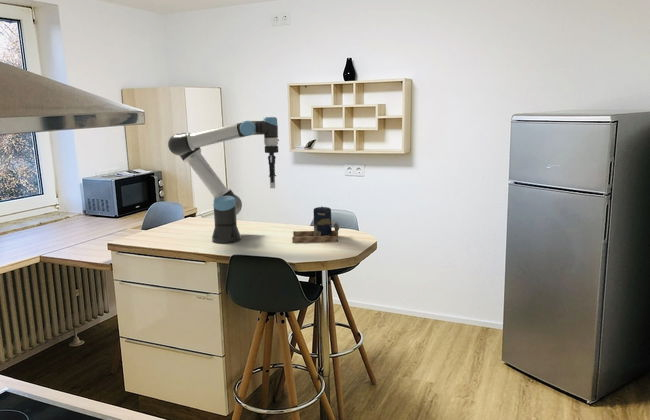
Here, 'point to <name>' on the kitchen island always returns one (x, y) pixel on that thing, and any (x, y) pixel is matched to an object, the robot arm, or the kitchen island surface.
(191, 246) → the kitchen island surface
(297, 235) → the bay
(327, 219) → the canister
